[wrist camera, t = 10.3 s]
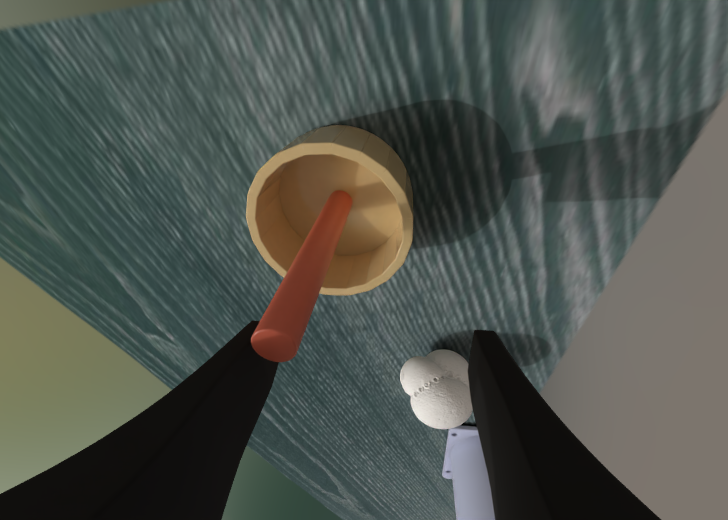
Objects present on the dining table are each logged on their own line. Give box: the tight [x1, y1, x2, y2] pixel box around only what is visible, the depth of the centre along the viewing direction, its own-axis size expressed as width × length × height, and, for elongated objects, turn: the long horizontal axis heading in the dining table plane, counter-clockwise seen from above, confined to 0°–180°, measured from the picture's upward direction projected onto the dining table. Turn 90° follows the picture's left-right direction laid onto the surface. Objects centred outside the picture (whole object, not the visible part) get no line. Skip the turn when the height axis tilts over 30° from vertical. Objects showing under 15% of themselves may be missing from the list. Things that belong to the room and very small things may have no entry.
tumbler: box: [246, 125, 413, 295], centre depth 17 cm, size 8×8×4 cm
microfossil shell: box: [400, 349, 473, 429], centre depth 23 cm, size 4×5×6 cm
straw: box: [251, 190, 352, 362], centre depth 14 cm, size 1×1×11 cm
